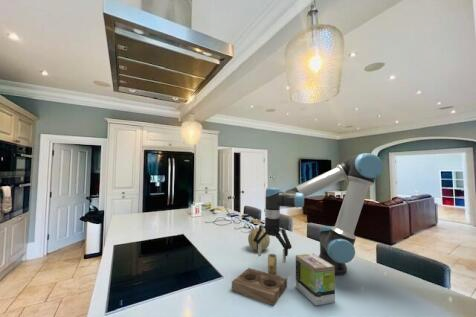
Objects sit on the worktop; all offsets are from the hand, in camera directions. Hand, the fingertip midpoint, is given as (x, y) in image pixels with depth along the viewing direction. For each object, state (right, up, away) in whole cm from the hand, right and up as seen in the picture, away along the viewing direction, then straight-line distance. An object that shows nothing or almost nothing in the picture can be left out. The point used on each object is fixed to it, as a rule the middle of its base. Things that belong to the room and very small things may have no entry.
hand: (271, 259), depth 111 cm
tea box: (+16, -8, -17) cm, 25 cm away
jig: (-7, -7, -13) cm, 17 cm away
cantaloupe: (-3, -10, +34) cm, 36 cm away
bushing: (0, -8, -1) cm, 8 cm away
